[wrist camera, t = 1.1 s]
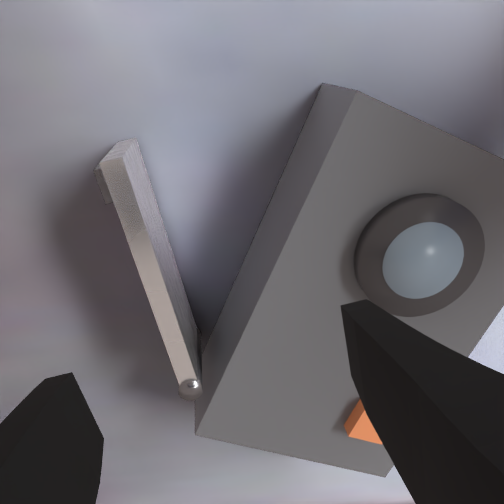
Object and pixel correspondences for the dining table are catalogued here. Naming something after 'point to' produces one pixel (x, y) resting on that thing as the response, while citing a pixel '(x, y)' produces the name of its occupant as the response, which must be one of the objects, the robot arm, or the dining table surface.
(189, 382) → the side door
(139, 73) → the dining table surface
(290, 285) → the camera case
